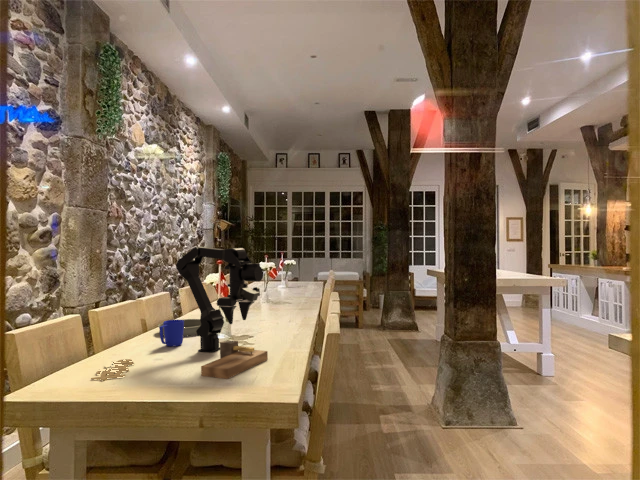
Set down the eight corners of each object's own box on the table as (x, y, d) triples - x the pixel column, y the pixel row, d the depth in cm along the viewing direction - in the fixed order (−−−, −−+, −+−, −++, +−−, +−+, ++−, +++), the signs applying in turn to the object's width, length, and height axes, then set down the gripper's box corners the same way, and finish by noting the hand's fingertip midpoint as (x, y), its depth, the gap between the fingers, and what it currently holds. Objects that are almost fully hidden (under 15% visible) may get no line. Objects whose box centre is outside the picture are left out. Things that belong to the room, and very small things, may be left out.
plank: (201, 375, 146) (201, 366, 146) (243, 357, 170) (243, 348, 170) (227, 378, 143) (227, 368, 143) (267, 359, 166) (267, 350, 166)
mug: (152, 348, 186) (152, 324, 186) (172, 342, 197) (172, 319, 197) (169, 350, 183) (168, 325, 183) (188, 343, 194) (188, 320, 194)
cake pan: (168, 328, 234) (168, 319, 234) (216, 327, 233) (216, 318, 233) (149, 338, 209) (149, 328, 209) (202, 337, 208) (202, 327, 208)
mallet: (220, 360, 165) (220, 342, 165) (227, 358, 169) (227, 340, 169) (249, 364, 159) (249, 345, 159) (256, 361, 163) (256, 343, 163)
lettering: (108, 362, 166) (107, 360, 166) (137, 360, 168) (137, 358, 168) (88, 383, 142) (88, 380, 142) (123, 380, 144) (123, 377, 144)
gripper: (241, 283, 164) (242, 327, 163) (267, 279, 181) (268, 319, 181) (215, 283, 168) (216, 325, 168) (243, 279, 185) (244, 317, 185)
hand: (237, 322), depth 175 cm, fingers open, 9 cm apart
